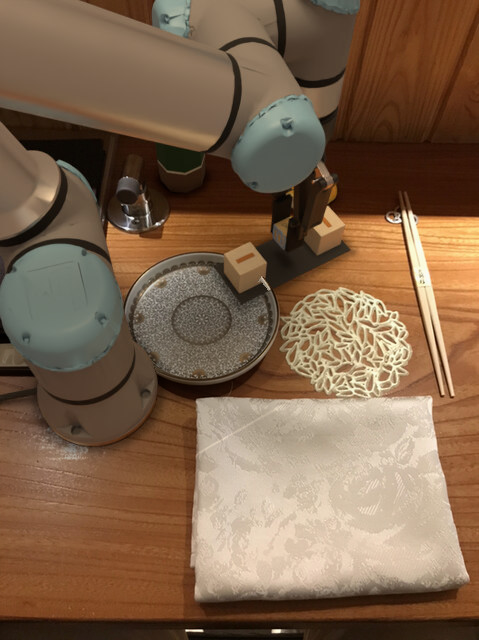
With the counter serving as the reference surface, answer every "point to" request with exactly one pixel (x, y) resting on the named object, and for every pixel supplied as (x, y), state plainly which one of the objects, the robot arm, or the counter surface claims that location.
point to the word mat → (283, 266)
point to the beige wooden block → (326, 233)
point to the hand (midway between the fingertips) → (286, 238)
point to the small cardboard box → (244, 267)
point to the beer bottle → (180, 167)
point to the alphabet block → (281, 232)
